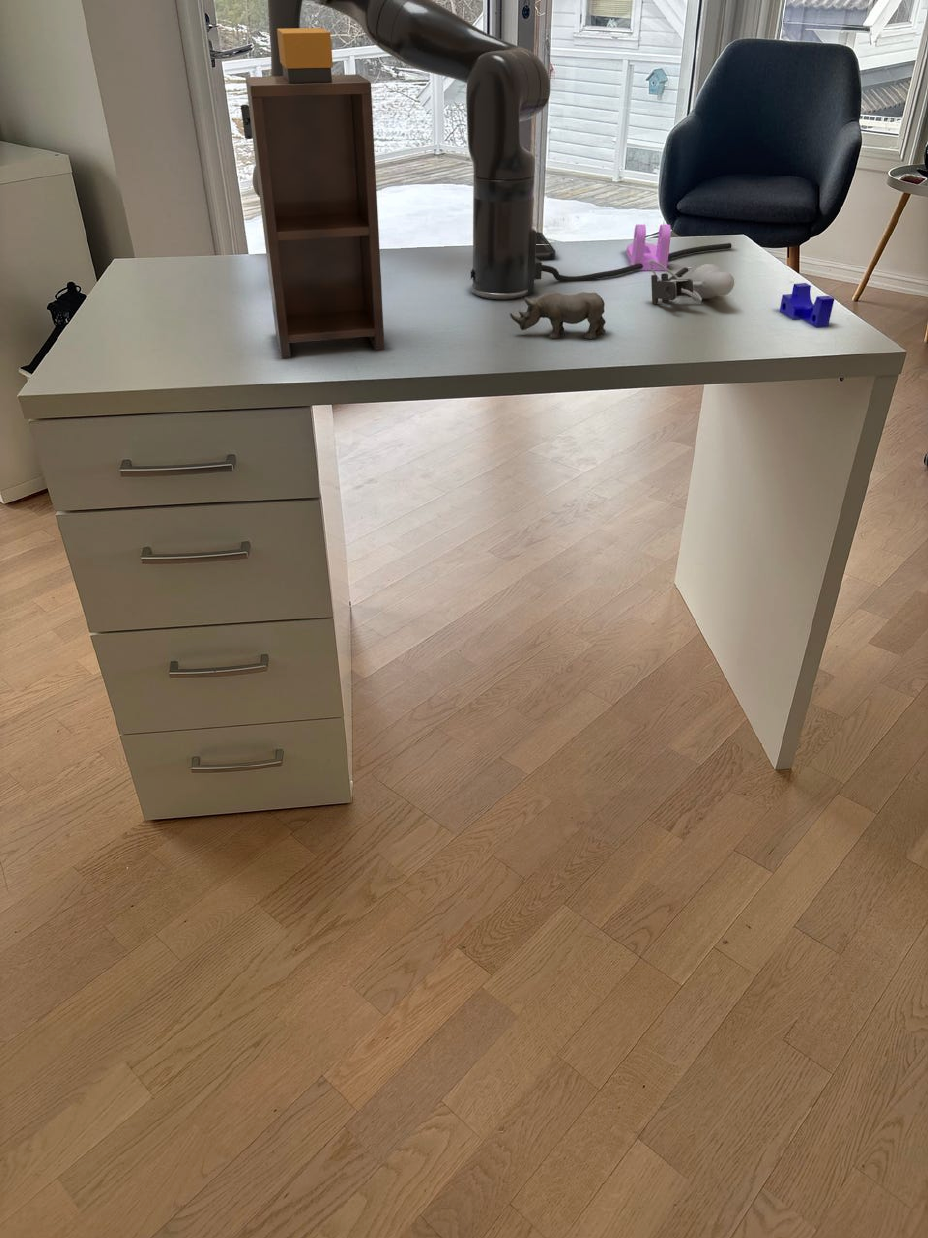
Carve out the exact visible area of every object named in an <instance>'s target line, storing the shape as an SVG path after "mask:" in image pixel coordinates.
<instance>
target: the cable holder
mask: <svg viewBox="0 0 928 1238" xmlns="http://www.w3.org/2000/svg"><path fill="white" fill-rule="evenodd" d="M811 288H812V285H810V284H808V283H807V282H801V283H793V286H792V291H791V293H786V294H782V295H781V301H780V306H779V312H780V313H781V314H783V315H784V316H786V317H787V318H790V319H791V320H803V321H805V322H806V323H808V324H809V325H811V326H813V327H815V328H825V327H829V325H830V321H831V316H832V311H833V307H834V303H835V298H834V297H832V296H831V295H818V296H816V297H815V300H814V302H813V300H812V296H811V290H812V289H811Z"/></svg>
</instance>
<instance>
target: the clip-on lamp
mask: <svg viewBox="0 0 928 1238" xmlns="http://www.w3.org/2000/svg"><path fill="white" fill-rule="evenodd" d="M652 263H655V264H657V265H658V266H660V267H661V268H663V269H664V270H663V271H665V272H666V273H665V272H664V273H661V275H660V278H659V276H658V274H657V273H656V270H654V269H653V266H652ZM650 266H651V269H652V270H651V271H652V273H653V274H652V275H651V276H650V280H651V282H650V283H651V303H652V304H653V305H658V304H659V300H661V302H662V303H668V302H669V301H674V300H676V299H680V298H692V299H694V300H695V301H696V302H697V303H701V302H702V301H703V299H712V298H714V297H716V296H727V295H728V294H730V293H731V292H732V290H733V289H734V287H735V279H734V276H733V275H732V274H731V273H730V272H728V271H722V269H720V268H719V267H718V266H717V265H715V264H712V263H705V264H702V265H700V266H698V267H697V268H695V270H693V272H692V274H691V276H690V278H683V276H684V275H685V274H687V273H688V272H689V271H690V270H691V269H692V266H687V267H683V268H681V269H680V270H678V271H677V272H676V273H674V272H672V271H671V270H670V269H669V268H666V267H664V266H663V265H661V264H660V263H658V262H656V261H653V260H651V261H650ZM669 274H670V275H671V276H670V277H669Z"/></svg>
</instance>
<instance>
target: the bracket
mask: <svg viewBox="0 0 928 1238" xmlns="http://www.w3.org/2000/svg"><path fill="white" fill-rule="evenodd" d="M646 236H647V226H646V224H636V225H635V227H634V233H633V242H632V243H629V244H627V246H626V256H627V257H626V258H627V259H628V261H629V263H630V266H631V265H635V264H639V263H640V264H642V265H643V268H641V269H638V270H637V271H652V269H651V266H650V261H651V260H653V261H656V262H658V263H660V264H661V265H663V266H664V267H666V268H667V267H668V262H669V259H668V254H669V253H670V245H671V237H672V228H671V225H670V224H660V226H659V228H658V236H657V244H655V243H649V242H646V238H647V237H646ZM652 266H653V269H654V271H665V270H664V269H663V268H661V267H660V266H658V265H657V264H655V263H652ZM667 269H668V268H667Z"/></svg>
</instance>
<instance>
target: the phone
mask: <svg viewBox="0 0 928 1238" xmlns="http://www.w3.org/2000/svg"><path fill="white" fill-rule="evenodd" d="M536 244H549V245H536V256H535V257H536V258H537V259H538V260H539V261H541V260H554V259H555V258H556V250H555V248H554V247H553V246H552V245H551V243H550V242H549V240H548V239H547V238H546V236H545V234H544V233H542V232H539V231H536Z"/></svg>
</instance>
